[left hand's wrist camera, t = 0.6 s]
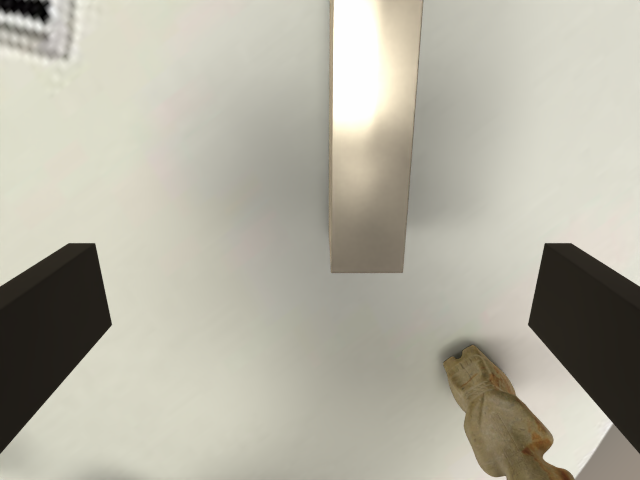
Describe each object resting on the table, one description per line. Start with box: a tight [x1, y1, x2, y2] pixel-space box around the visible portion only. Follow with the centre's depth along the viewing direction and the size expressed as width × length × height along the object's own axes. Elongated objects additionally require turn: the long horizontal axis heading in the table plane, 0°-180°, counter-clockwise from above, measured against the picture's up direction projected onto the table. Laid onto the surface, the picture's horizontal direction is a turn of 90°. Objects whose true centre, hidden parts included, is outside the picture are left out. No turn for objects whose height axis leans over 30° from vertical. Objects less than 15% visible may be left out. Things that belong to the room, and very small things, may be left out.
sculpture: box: [443, 345, 575, 480], centre depth 33 cm, size 6×7×15 cm
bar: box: [329, 0, 423, 273], centre depth 27 cm, size 24×5×8 cm, turn 0°
